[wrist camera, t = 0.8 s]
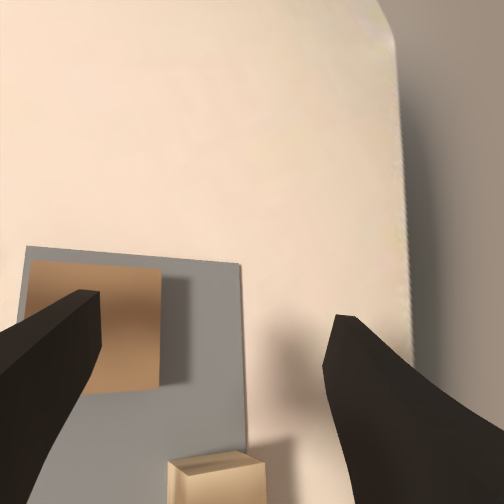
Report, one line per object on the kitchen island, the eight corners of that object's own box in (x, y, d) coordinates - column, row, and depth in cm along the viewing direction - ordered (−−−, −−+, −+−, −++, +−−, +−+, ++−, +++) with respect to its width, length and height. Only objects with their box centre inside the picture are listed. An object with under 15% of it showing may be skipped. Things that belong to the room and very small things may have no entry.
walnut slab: (149, 387, 24) (158, 389, 21) (17, 396, 20) (14, 399, 18) (152, 277, 25) (161, 269, 23) (33, 270, 22) (31, 259, 20)
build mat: (247, 539, 24) (249, 541, 24) (-21, 613, 18) (-22, 617, 17) (237, 264, 29) (238, 263, 29) (26, 247, 23) (26, 245, 23)
